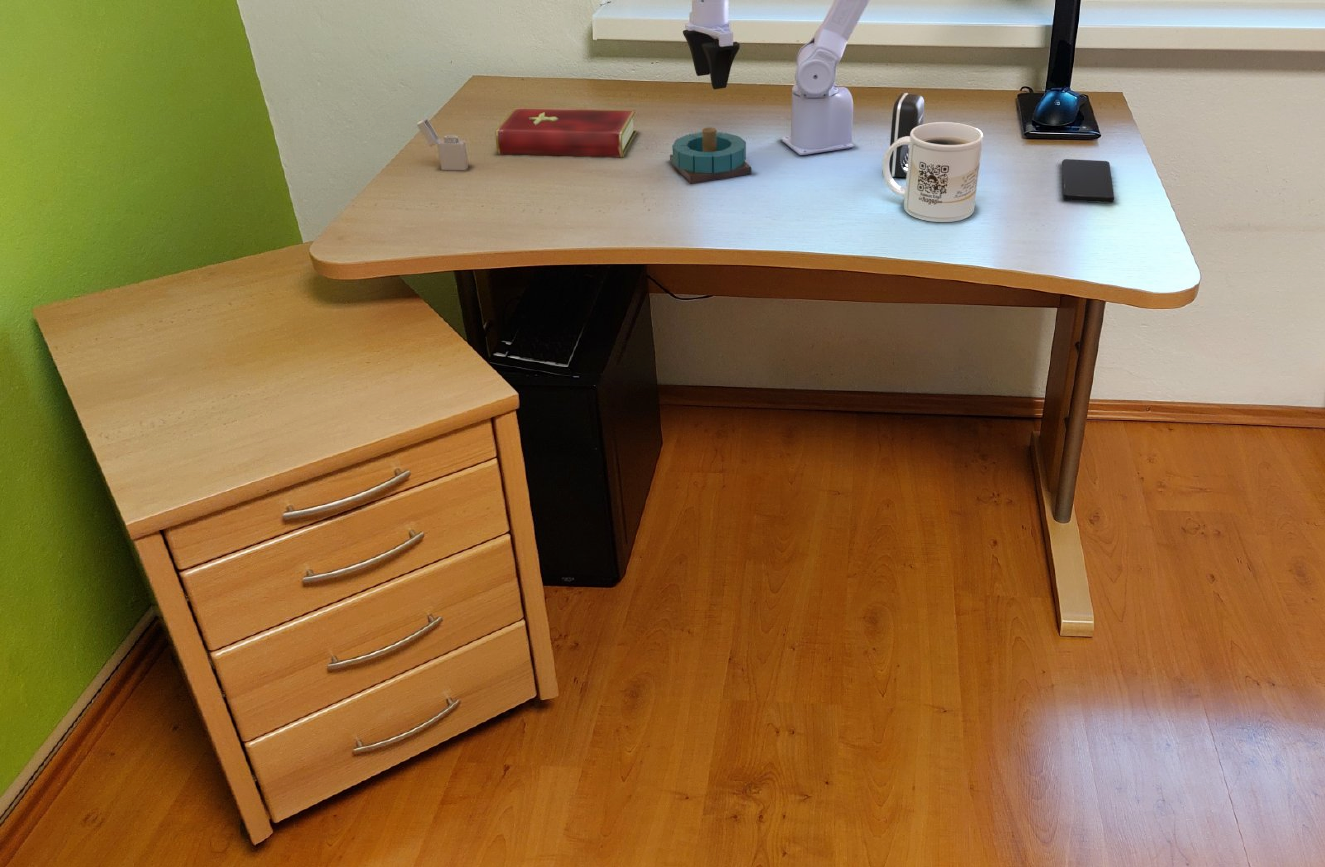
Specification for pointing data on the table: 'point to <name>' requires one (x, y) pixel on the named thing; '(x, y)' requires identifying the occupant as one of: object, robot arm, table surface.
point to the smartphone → (1087, 180)
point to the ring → (709, 153)
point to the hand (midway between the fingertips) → (711, 81)
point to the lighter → (446, 147)
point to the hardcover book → (566, 132)
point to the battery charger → (904, 129)
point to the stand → (711, 146)
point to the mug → (939, 171)
